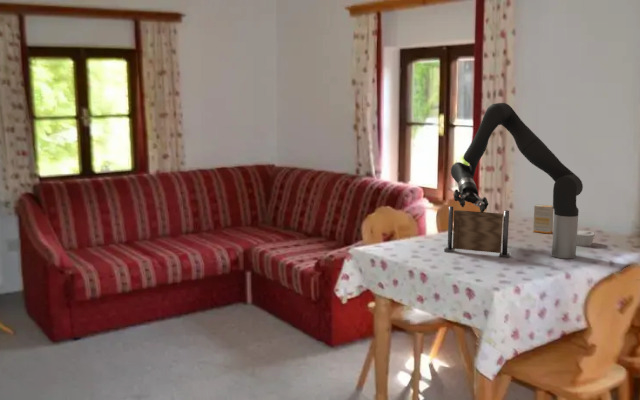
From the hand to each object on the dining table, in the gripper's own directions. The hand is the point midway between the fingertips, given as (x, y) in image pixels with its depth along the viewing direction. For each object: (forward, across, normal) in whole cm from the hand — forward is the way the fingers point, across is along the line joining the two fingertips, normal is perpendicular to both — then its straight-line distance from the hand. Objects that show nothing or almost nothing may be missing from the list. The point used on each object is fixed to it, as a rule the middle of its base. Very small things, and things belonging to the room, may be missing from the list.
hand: (473, 208), depth 271 cm
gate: (+5, +7, +16) cm, 18 cm away
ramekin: (-16, +57, +12) cm, 60 cm away
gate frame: (+5, +8, +17) cm, 20 cm away
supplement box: (-39, +50, +22) cm, 67 cm away
